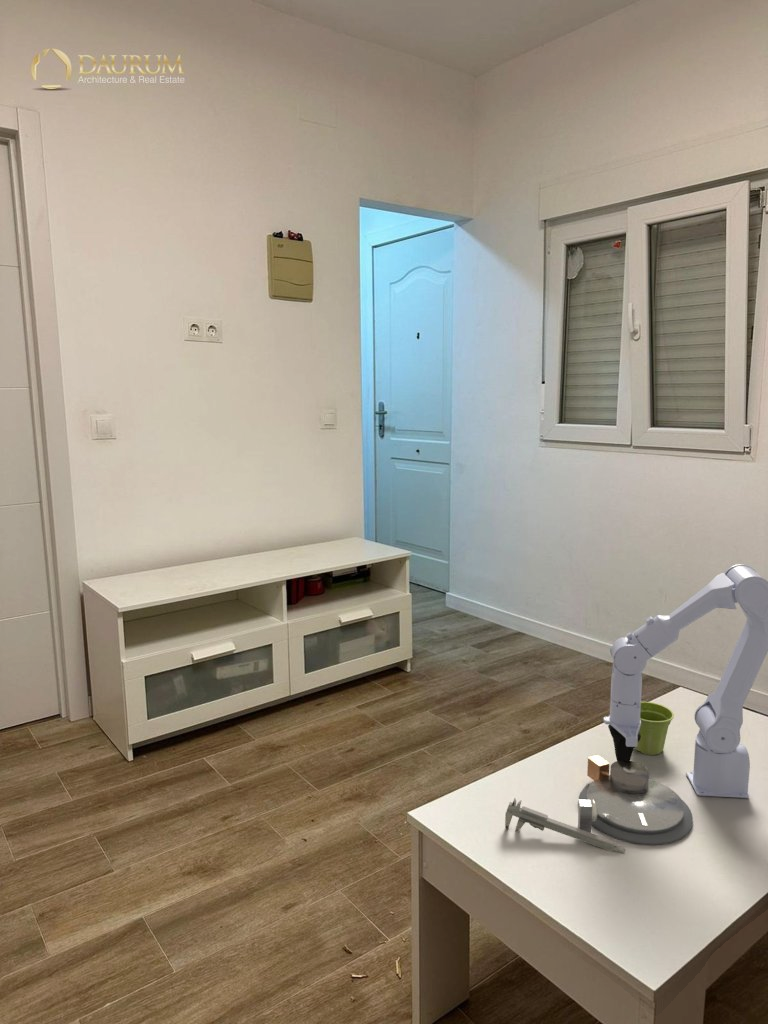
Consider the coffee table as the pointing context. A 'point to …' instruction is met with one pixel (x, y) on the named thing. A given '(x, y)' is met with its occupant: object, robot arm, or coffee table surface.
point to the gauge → (587, 814)
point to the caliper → (555, 826)
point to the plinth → (644, 838)
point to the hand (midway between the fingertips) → (622, 762)
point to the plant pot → (653, 727)
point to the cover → (629, 777)
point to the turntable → (633, 803)
